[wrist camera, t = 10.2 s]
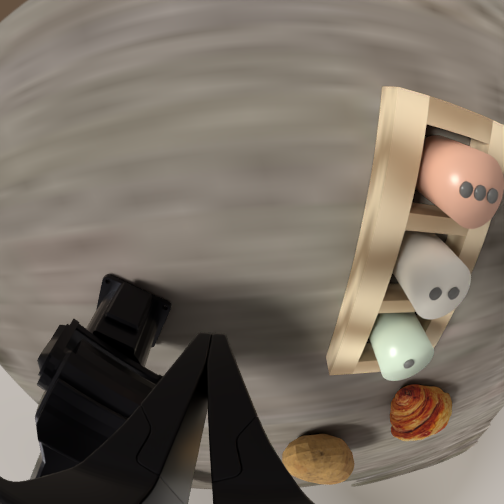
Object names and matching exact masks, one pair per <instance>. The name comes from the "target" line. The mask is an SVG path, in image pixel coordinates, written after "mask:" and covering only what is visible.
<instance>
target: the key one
mask: <svg viewBox="0 0 504 504" xmlns="http://www.w3.org/2000/svg"><path fill="white" fill-rule="evenodd" d="M369 339H370V342H371V345H372V347H373V350H374V353H375V356H376V359H377V361H378V364H379V367H380V370H381V373H382V376H383V377H384V378H385V379H387V380H390V381H398V380H403V379H406V378H409V377H411V376H413V375H415V374H417V373H418V372H420V371H421V370H422V369H424V368H425V367H426V366H427V365H428V364H429V362H430V361H431V359H432V357H433V355H434V348H433V346H432V344H431V342H430V341H429V339H428V337H427V335H426V333H425V331H424V329H423V328H422V326H421V324H420V322H419V320H418V318H417V317H416V315H415V313H414V312H402V313H378V315H377V317H376V320H375V322H374V325H373V327H372V330H371V332H370V335H369Z"/></svg>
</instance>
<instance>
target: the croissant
mask: <svg viewBox="0 0 504 504" xmlns="http://www.w3.org/2000/svg"><path fill="white" fill-rule="evenodd" d="M451 413H452V401H451V398H450V395H449V394H448V393H444V392H443V391H442V390H441V389H440V388H438V387H435V386H431V387H430V386H422V385H417V384H413V385H408V386H405V387H403V388H402V389H400V390H399V391H398V392H397V393H396V394H395V397H394V398H393V400H392V402H391V412H390V422H391V424H392V427H391V433H392V435H393V436H394V437H397V438H398V439H400V440H402V441H409V440H412V441H414V440H420V439H421V440H422V439H424V438H426V437H429V436H431V435H433V434H436V433H438V432H439V431H441V430H442V429H443V428H445V426H446V425H447V423H448V421H449V417H450V416H451Z"/></svg>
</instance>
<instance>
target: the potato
mask: <svg viewBox="0 0 504 504" xmlns="http://www.w3.org/2000/svg"><path fill="white" fill-rule="evenodd" d="M282 463H283V464H284V466H285V467H286V469H287V470H288V472H289V473H290V474H291V475H293V476H295V477H297V478H300V479H302V480H305V481H308V482H314V483H318V484H337V483H341V482H343V481H345V480H346V479H347V478H348V477H349V476H350V475H351V473H352V471H353V468H354V460H353V455H352V452H351V450H350V449H349V447H348V446H347V444H346V443H345V442H344V441H343V440H342V439H341V438H337V437H334V436H331V435H328V434H317V435H306V436H301V437H299V438H297V439H296V440H294V441H292V442H291V443H289V445H288V446H287V448H286V449H285V451H284V452H283V455H282Z"/></svg>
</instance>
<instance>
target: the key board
mask: <svg viewBox="0 0 504 504" xmlns="http://www.w3.org/2000/svg"><path fill="white" fill-rule="evenodd" d="M426 124H428V125H431V126H435V127H438V128H442V129H445V130H449V131H452V132H455V133H458V134H461V135H464V136H467V137H470V138H471V142H470V147H472V148H475V149H477V150H480V151H482V152H484V153H487V154H489V155H491V156H492V157H494V158H495V159H496V160H497V162H498V163H499V165H500V167H501V169H502V173H503V174H504V125H502V124H500V123H498V122H496V121H493V120H491V119H489V118H487V117H484V116H482V115H480V114H477V113H475V112H472V111H470V110H467V109H465V108H462V107H459V106H457V105H454V104H451V103H449V102H446V101H443V100H440V99H437V98H434V97H431V96H428V95H424V94H421V93H418V92H414V91H411V90H407V89H404V88H400V87H382V95H381V105H380V114H379V123H378V131H377V139H376V146H375V153H374V160H373V166H372V172H371V178H370V184H369V190H368V195H367V200H366V206H365V211H364V216H363V221H362V225H361V230H360V235H359V239H358V244H357V248H356V252H355V256H354V261H353V265H352V269H351V273H350V277H349V280H348V284H347V288H346V292H345V295H344V299H343V303H342V306H341V310H340V313H339V316H338V320H337V323H336V327H335V330H334V333H333V336H332V339H331V343H330V346H329V349H328V352H327V355H326V360H327V365H328V370H329V374H330V375H343V374H358V373H370V372H380V371H381V370H380V367H379V364H378V361H377V359H376V356H375V353H374V350H373V347H372V345H371V343H366V342H367V340H368V337H369V335H370V332H371V330H372V327H373V325H374V322H375V320H376V317H377V315H378V313H402V312H416V311H415V309H414V307H413V305H412V304H411V302H410V300H409V299H408V297H407V295H406V294H405V292H404V290H403V289H402V287H401V285H400V284H396V283H389V281H390V278H391V275H392V272H393V269H394V266H395V262H396V259H397V256H398V253H399V249H400V246H401V242H402V239H403V235H404V232H405V230H408V231H419V232H430V233H441V234H448V236H447V239H446V242H445V244H446V245H447V246H448V247H449V248H450V249H451V250H452V251H453V252H454V253H455V254H456V256H457V257H458V258H459V259H460V260H461V261H462V262H463V263H464V264H465V265H466V266H467V268H468V269H469V271H470V274H471V273H472V271H473V268H474V266H475V263H476V261H477V258H478V256H479V253H480V250H481V248H482V245H483V242H484V239H485V237H486V234H487V231H488V228H489V225H490V222H491V219H490V220H489V221H488V222H487V223H486V224H484V225H483V226H481V227H478V228H475V229H467V228H464V227H462V226H460V225H459V224H458V223H457V222H455V221H454V220H453V219H452V218H451V217H449V216H448V215H447V214H446V213H445V212H443V211H442V210H441V209H440V208H438V207H437V206H434V205H427V204H420V203H412V200H413V196H414V191H415V187H416V182H417V177H418V172H419V167H420V161H421V156H422V150H423V144H424V138H425V131H426ZM454 310H455V309H454ZM454 310H453V311H451V312H450V313H448V314H447V315H445V316H443V317H440V318H437V319H424V318H422V317H420V316H419V315H418V314H417V316H416V317H417V318H418V320H419V322H420V324H421V326H422V328H423V329H424V331H425V333H426V335H427V337H428V339H429V341H430V342H431V344H432V346H433V348H434V347H435V345H436V344H437V342H438V340H439V338H440V337H441V335H442V333H443V331H444V329H445V328H446V326H447V324H448V322H449V320H450V318H451V316H452V314H453V312H454Z"/></svg>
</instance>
